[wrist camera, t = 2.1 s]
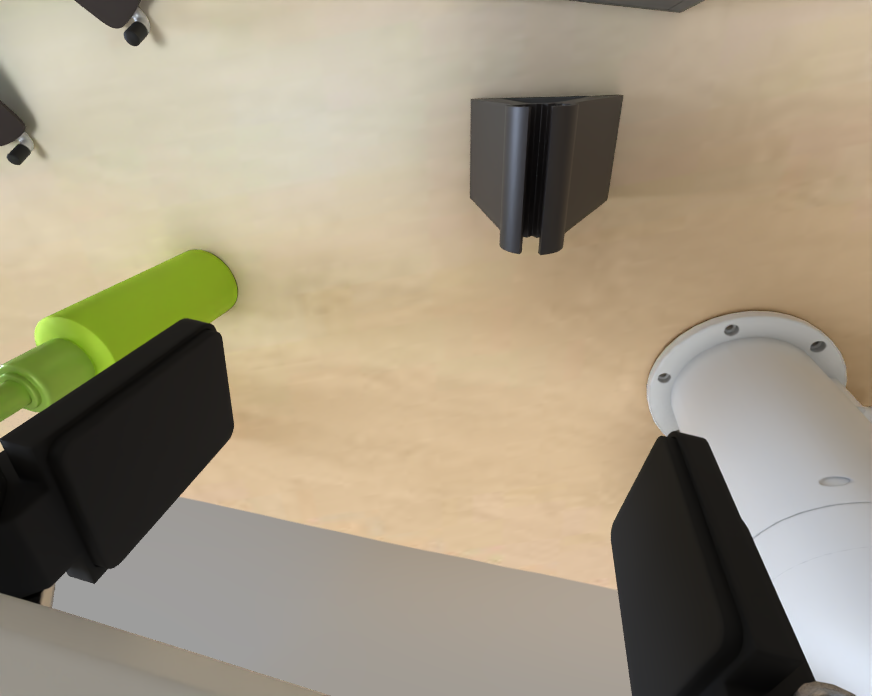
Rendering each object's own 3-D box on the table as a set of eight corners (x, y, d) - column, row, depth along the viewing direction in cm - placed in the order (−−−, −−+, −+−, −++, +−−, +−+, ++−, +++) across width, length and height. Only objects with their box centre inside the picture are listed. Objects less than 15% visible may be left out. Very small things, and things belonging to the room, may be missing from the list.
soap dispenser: (229, 241, 38) (-32, 371, 21) (242, 316, 41) (29, 479, 24) (166, 233, 39) (-133, 351, 22) (184, 307, 42) (-60, 458, 25)
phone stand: (470, 196, 32) (432, 250, 22) (471, 97, 29) (428, 107, 19) (606, 199, 30) (634, 260, 20) (623, 94, 27) (665, 103, 17)
